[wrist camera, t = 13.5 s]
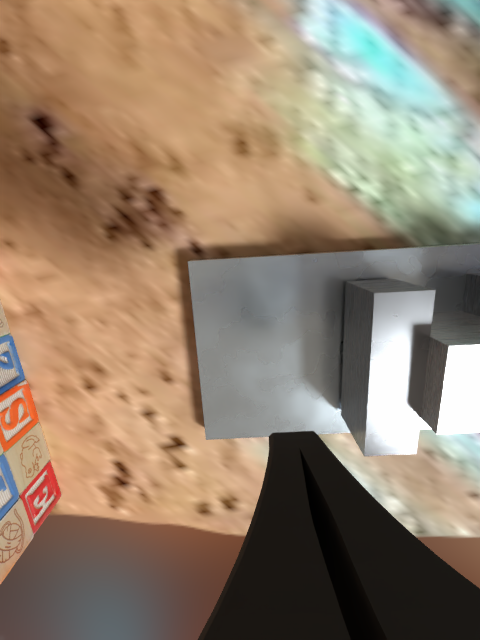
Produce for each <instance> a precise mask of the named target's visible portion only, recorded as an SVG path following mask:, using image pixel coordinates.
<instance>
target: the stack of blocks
mask: <svg viewBox="0 0 480 640" xmlns="http://www.w3.org/2000/svg"><path fill="white" fill-rule="evenodd" d="M49 460H50V454H49V450H48V447H47V444H46V440H45V437H44V434H43V431H42V428H41V426H40V423H39V422H38V415H37V411H36V408H35V405H34V402H33V398H32V395H31V392H30V389H29V385H28V382H27V381H26V380H25V376H24V372H23V369H22V366H21V363H20V360H19V357H18V354H17V350H16V347H15V344H14V341H13V337H12V336H11V334H10V329H9V326H8V323H7V320H6V316H5V313H4V310H3V307H2V304H1V301H0V584H1V583H2V581H3V580H4V579H5V577H6V576H7V574H8V573H9V572H10V570H11V569H12V567H13V566H14V564H15V563H16V561H17V560H18V559H19V557H20V556H21V554H22V553H23V551H24V550H25V549H26V547H27V546H28V544H29V543H30V542H31V540H32V539H33V535H34V534H35V532H36V531H37V530H38V528H39V527H40V526H41V524H42V523H43V522H44V520H45V519H46V518H47V516H48V515H49V513H50V512H51V510H52V509H53V508H54V506H55V505H56V503H57V502H58V500H59V499H60V497H61V492H60V489H59V486H58V483H57V480H56V477H55V474H54V471H53V468H52V465H51V462H50V461H49Z"/></svg>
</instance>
